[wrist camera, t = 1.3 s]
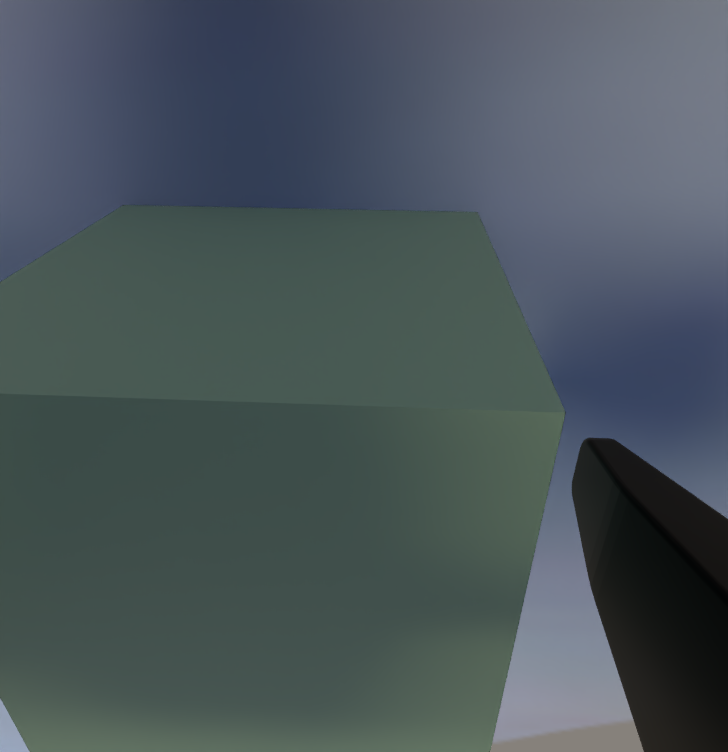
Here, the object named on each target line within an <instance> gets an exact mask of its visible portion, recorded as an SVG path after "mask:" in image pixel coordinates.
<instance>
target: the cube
mask: <svg viewBox="0 0 728 752" xmlns="http://www.w3.org/2000/svg"><path fill="white" fill-rule="evenodd" d="M565 413H566V412H565V410H564V408H563V406H562V403H561V401H560V399H559V397H558V394H557V392H556V390H555V387H554V385H553V383H552V381H551V378H550V376H549V374H548V372H547V369H546V367H545V365H544V362H543V360H542V358H541V356H540V353H539V351H538V349H537V347H536V344H535V342H534V340H533V337H532V335H531V333H530V331H529V328H528V326H527V324H526V322H525V319H524V317H523V315H522V312H521V310H520V308H519V306H518V303H517V301H516V299H515V296H514V294H513V292H512V290H511V287H510V285H509V283H508V281H507V278H506V276H505V274H504V271H503V269H502V267H501V265H500V262H499V260H498V258H497V256H496V253H495V251H494V249H493V246H492V244H491V242H490V240H489V237H488V235H487V233H486V231H485V228H484V226H483V224H482V221H481V219H480V217H479V215H478V212H448V211H399V210H349V209H299V208H249V207H200V206H150V205H123V206H121V207H119V208H118V209H116V210H115V211H113V212H111V213H110V214H108V215H107V216H105V217H103V218H102V219H100V220H99V221H97V222H95V223H94V224H92V225H91V226H89V227H87V228H86V229H84V230H83V231H81V232H79V233H78V234H76V235H75V236H73V237H71V238H70V239H68V240H67V241H65V242H63V243H62V244H60V245H59V246H57V247H55V248H54V249H52V250H51V251H49V252H47V253H46V254H44V255H43V256H41V257H39V258H38V259H36V260H35V261H33V262H31V263H30V264H28V265H27V266H25V267H23V268H22V269H20V270H19V271H17V272H15V273H14V274H12V275H11V276H9V277H7V278H6V279H4V280H3V281H1V282H0V698H1V700H2V702H3V704H4V705H5V707H6V709H7V711H8V713H9V715H10V716H11V718H12V720H13V722H14V724H15V726H16V727H17V729H18V731H19V733H20V735H21V737H22V738H23V740H24V742H25V744H26V746H27V748H28V749H29V751H30V752H490V750H491V745H492V741H493V736H494V732H495V727H496V723H497V718H498V714H499V709H500V705H501V700H502V696H503V691H504V687H505V682H506V678H507V673H508V669H509V665H510V660H511V656H512V651H513V647H514V642H515V638H516V633H517V629H518V624H519V620H520V615H521V611H522V606H523V602H524V597H525V593H526V588H527V584H528V579H529V575H530V570H531V566H532V561H533V557H534V552H535V548H536V543H537V539H538V534H539V530H540V525H541V521H542V516H543V512H544V507H545V503H546V499H547V494H548V490H549V485H550V481H551V476H552V472H553V467H554V463H555V458H556V454H557V449H558V445H559V440H560V436H561V431H562V427H563V422H564V418H565Z"/></svg>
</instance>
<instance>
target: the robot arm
mask: <svg viewBox="0 0 728 752" xmlns="http://www.w3.org/2000/svg"><path fill="white" fill-rule="evenodd" d="M572 496H573V502H574V507H575V512H576V517H577V522H578V527H579V532H580V537H581V542H582V547H583V552H584V557H585V562H586V567H587V572H588V577H589V581H590V586H591V589H592V593H593V596H594V599H595V603H596V606H597V609H598V612H599V615H600V618H601V621H602V624H603V627H604V630H605V633H606V637H607V640H608V643H609V646H610V649H611V652H612V655H613V658H614V661H615V664H616V667H617V670H618V673H619V676H620V680H621V683H622V686H623V689H624V692H625V695H626V698H627V701H628V704H629V707H630V710H631V713H632V716H633V719H634V723H635V726H636V729H637V732H638V735H639V737H640V741H641V744H642V747H643V750H644V752H728V519H727V518H726V517H724V516H723V515H721V514H720V513H719V512H717V511H716V510H714V509H713V508H711V507H710V506H709V505H707V504H706V503H704V502H703V501H701V500H700V499H699V498H697V497H696V496H694V495H693V494H691V493H690V492H689V491H687V490H686V489H684V488H683V487H681V486H680V485H679V484H677V483H676V482H674V481H673V480H671V479H670V478H669V477H667V476H666V475H664V474H663V473H661V472H660V471H659V470H657V469H656V468H654V467H653V466H651V465H650V464H649V463H647V462H646V461H644V460H643V459H641V458H640V457H639V456H637V455H636V454H634V453H633V452H632V451H630V450H629V449H627V448H626V447H624V446H623V445H622V444H620V443H619V442H617V441H616V440H614V439H610V438H587V439H585V440H584V441H583V443H582V444H581V447H580V451H579V455H578V459H577V463H576V467H575V471H574V476H573V480H572Z"/></svg>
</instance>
